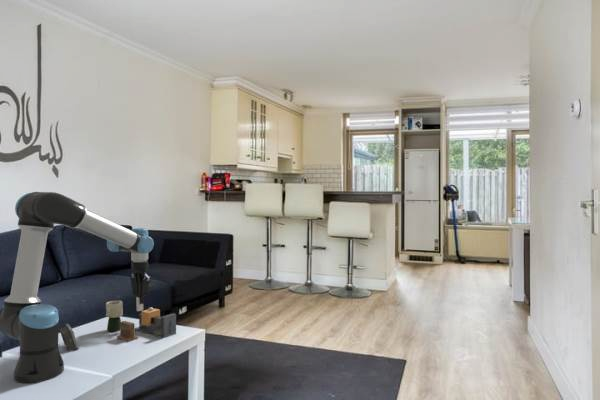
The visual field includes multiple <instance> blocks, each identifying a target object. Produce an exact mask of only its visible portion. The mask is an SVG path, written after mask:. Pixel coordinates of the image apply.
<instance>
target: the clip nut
mask: <svg viewBox="0 0 600 400" xmlns="http://www.w3.org/2000/svg"><path fill="white" fill-rule="evenodd" d="M140 314H141V324H142V325H146V326H150V325H151V318H152V317H155V316H158V317H161V310H160V309H159V308H153V307H148V309H145V310H144V309H143V310H142V311H141V312H140Z"/></svg>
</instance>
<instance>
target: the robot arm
mask: <svg viewBox="0 0 600 400" xmlns="http://www.w3.org/2000/svg"><path fill="white" fill-rule="evenodd" d="M14 207H15V208H14V211H15V214H16V216H17V218H18V223H17V227H18V228H19V230H21V233H20V238H19V242H18V243H19V244H18V249H17V253H16V254H17V255H16V260H15V265H14V266H15V267H14V272H13V276H12V284H11V289H10V295H9V296H8V297H6V298H5V299H4V300H3V305H2V307H1V308H0V333H1V334H2V335H3V336H5V337H8V338H11V339H15V340H17V341H19V356H18V360H17V362H16V365H15V366H14V367H15V368H14V370H13V380H14V381H15V382H17V383H21V384H22V383H23V384H25V383H27V384H30V383H39V382H43V381H46V380H49V379H53V378H55V377H58V376H59V375H61V374H62V373H63V372H64V370H65V363H64V360H63V357H62V355H61V353H60V349H59V320H60V316H59V310H58V308H57V307H55V306H54V305H51V304H43V303H42V300H41V299H40V297H38V292H39V286H40V280H41V276H42V275H41V274H42V271H43V270H42V269H43V264H44V259H45V252H46V246H47V240H48V235H49V233H50V232H51V231H52V230H54V226H55V225H61V226H65V227H68V228H70V229H75V228H77V229H80V230H82V231H84V232H87V233H90V234H92V235H95V236H97V237H99V238H101V239H104V240H106V247H107V249H108V250H109V252H112V253H113V252H116V253H117V252H128V253H131V255H130V257H131V258H130V259H131V265H130V266H131V270H132V273H131V274H129V279H130V285H131V291H132V295H133V296H135V303H136V312H140V311H144V303H145V299H144V298H145V297H146V296H148V291H149V285H150V281H151V278H152V276H151V275H148V271H147V270H148V269H149V261H148V260H149V253H150V252H151V251H152V250H153V249H154V245H155V242H154V239H153V238H152V237H151V236H149V230H148V228H145V227H134V228H132V229H129V228H127V227H125V226H122V225H120V224H118V223H116V222H114V221H112V220H110V219H108V218H106V217H103V216H101V215H99V214H97V213H94V212H92V211H90V210H88V209H87V207H86V206H85V204H81V203H80V202H78V201H76V200H74V199H72V198H70V197H68V196H66V195H64V194H61V193H58V192H55V191H54V192H53V191H49V192H48V191H34V192H29V193H25V194H24V195H22V196H21V197H20V198H18V200H17V201H16V204H15V206H14Z"/></svg>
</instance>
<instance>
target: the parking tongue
mask: <svg viewBox="0 0 600 400" xmlns="http://www.w3.org/2000/svg"><path fill="white" fill-rule="evenodd" d="M119 332H120V334H119V335H117V336H116V339H118V340H121V341H123V342H124V341H125V342H127V343H129V342H132V341H134V340H135V341H136V340H138V339H139V336H138V335H135V323H134V322H130V321H127V320H122V321H121V322H120V331H119Z"/></svg>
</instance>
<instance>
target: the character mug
mask: <svg viewBox="0 0 600 400" xmlns="http://www.w3.org/2000/svg"><path fill="white" fill-rule="evenodd" d="M123 305H124V303H123V301H122V300H111V301H107V302H106V303H105V310H106V313H105V316H106V317H107V318H108V319H107V320H108V321H107V328H106V331H108V332H109V331H111V332H114V331H119V330H120V322H122V321H121V319H122V318H121V317H122V316H123V315H124V314H123V310H124V308H123Z"/></svg>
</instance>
